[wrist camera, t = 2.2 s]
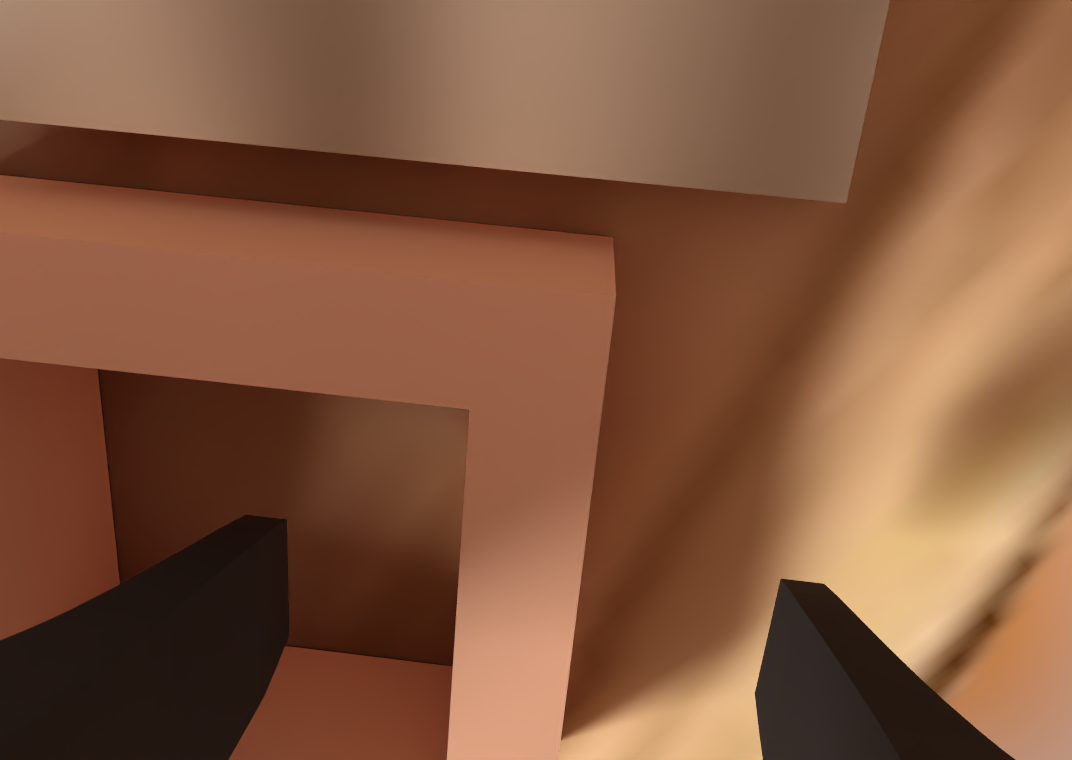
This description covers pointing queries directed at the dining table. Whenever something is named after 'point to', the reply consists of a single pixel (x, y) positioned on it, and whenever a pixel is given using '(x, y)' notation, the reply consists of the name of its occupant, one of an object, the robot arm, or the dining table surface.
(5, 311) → the pink square frame
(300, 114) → the thin beige base plate
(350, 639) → the dining table surface
